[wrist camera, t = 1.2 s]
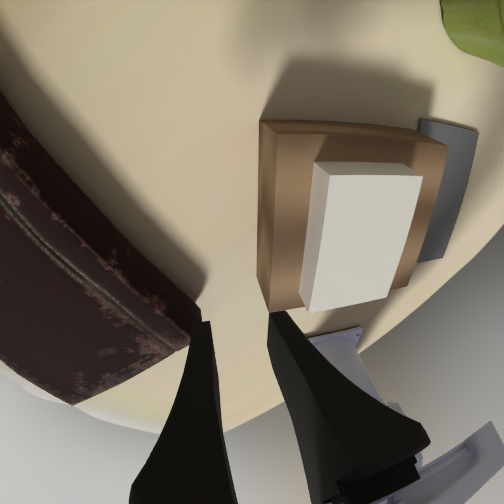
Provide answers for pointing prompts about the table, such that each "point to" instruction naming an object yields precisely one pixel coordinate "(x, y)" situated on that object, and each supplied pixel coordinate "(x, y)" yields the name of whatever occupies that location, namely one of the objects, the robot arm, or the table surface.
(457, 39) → the plant pot
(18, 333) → the diary
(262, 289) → the brown shallow square box
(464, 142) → the mat
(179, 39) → the table surface
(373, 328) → the table surface
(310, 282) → the off-white rectangular block
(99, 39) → the table surface
